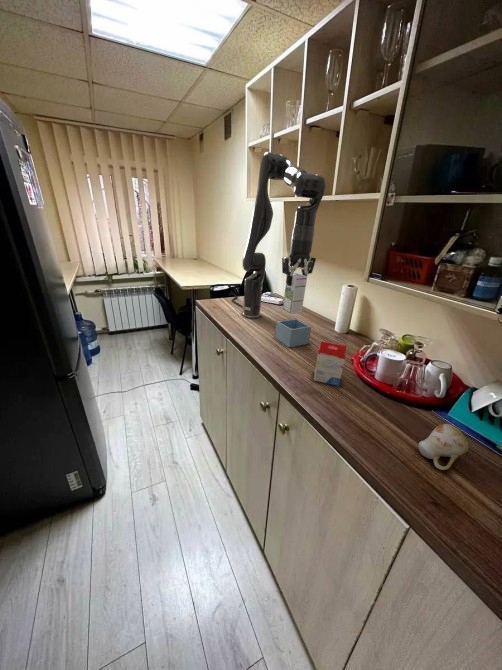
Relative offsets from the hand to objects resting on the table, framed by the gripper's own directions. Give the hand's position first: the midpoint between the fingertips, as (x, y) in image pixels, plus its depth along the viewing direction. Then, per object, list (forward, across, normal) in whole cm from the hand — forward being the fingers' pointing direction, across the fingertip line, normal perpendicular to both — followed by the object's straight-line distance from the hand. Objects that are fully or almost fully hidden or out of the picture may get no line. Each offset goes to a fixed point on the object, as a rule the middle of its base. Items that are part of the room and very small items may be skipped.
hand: (295, 284), depth 104 cm
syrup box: (+11, 0, 0) cm, 11 cm away
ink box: (+26, +2, +26) cm, 37 cm away
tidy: (+27, -6, -5) cm, 28 cm away
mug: (+26, -1, +62) cm, 67 cm away
